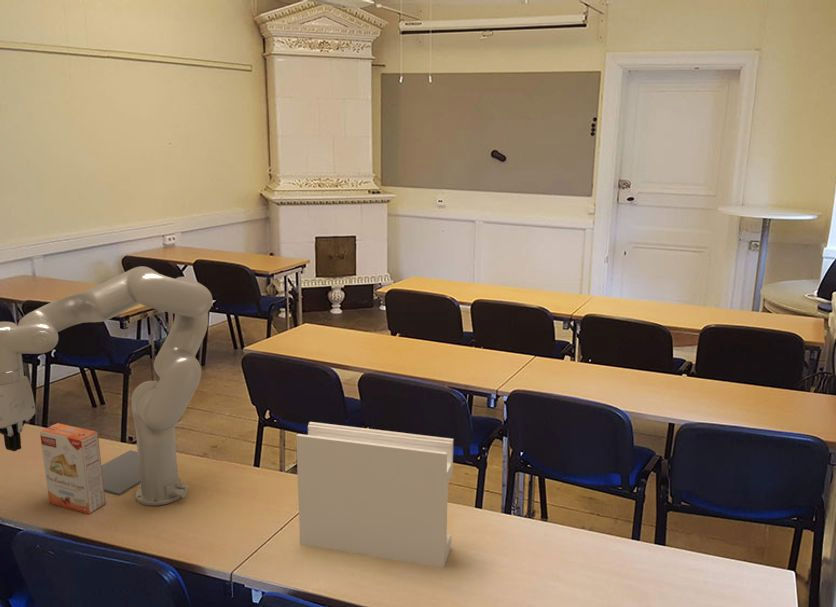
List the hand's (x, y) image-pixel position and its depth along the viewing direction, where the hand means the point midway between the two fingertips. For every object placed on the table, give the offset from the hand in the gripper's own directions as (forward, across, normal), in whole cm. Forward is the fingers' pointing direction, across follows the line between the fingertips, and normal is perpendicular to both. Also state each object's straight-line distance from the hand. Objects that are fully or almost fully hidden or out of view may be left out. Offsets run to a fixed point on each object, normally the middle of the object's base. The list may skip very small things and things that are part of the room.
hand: (13, 448), depth 170 cm
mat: (+21, +33, 0) cm, 39 cm away
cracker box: (+22, +15, -2) cm, 26 cm away
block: (+21, +30, -81) cm, 89 cm away
